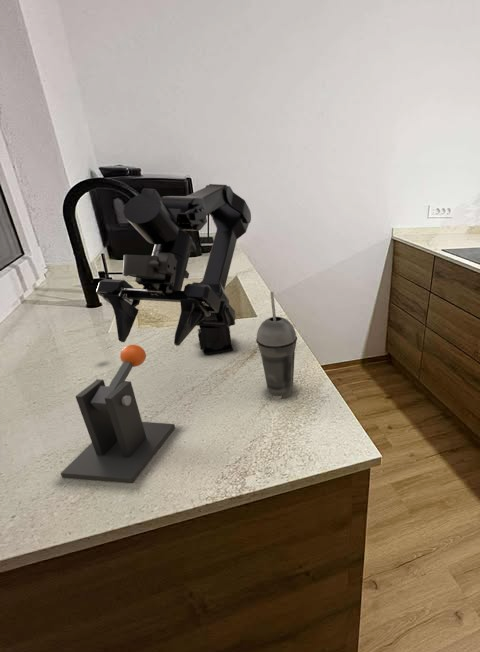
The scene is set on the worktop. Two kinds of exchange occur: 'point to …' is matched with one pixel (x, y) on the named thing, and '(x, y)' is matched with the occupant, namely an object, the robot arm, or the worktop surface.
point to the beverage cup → (277, 353)
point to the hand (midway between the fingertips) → (148, 343)
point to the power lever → (119, 374)
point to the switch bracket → (115, 437)
